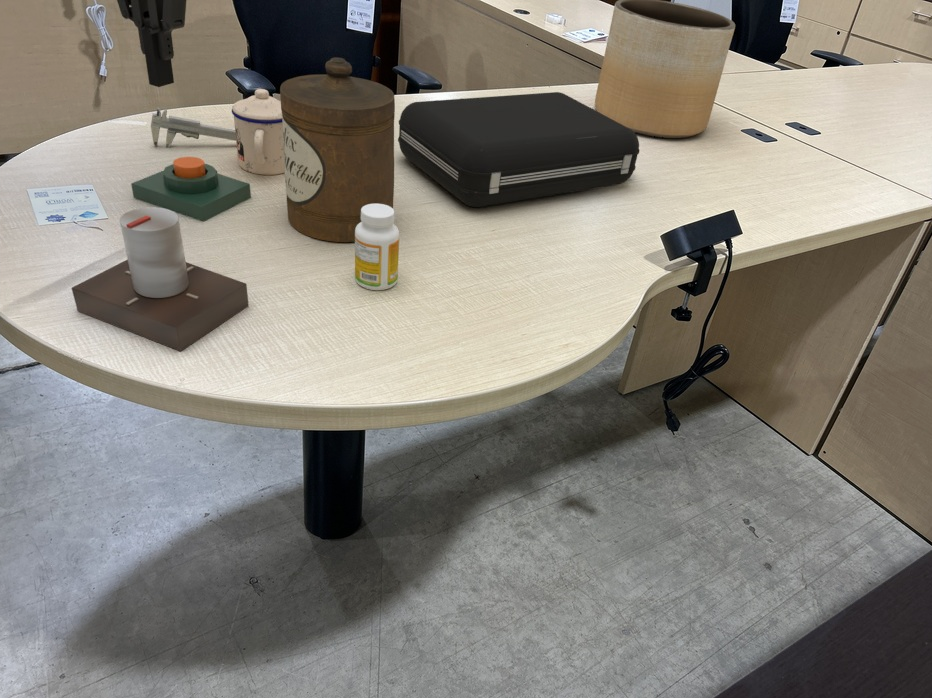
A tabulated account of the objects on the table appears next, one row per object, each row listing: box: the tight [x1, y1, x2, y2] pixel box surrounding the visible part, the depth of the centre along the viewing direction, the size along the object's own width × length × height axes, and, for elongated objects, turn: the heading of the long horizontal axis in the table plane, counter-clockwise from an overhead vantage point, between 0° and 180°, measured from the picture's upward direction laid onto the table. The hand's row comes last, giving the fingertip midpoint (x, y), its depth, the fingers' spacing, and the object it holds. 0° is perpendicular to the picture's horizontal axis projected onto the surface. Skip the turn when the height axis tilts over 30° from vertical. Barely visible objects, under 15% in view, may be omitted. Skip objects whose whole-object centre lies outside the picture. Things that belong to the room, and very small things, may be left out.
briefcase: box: [397, 91, 640, 208], centre depth 128 cm, size 36×32×10 cm
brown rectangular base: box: [71, 258, 249, 352], centre depth 82 cm, size 14×11×3 cm
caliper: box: [150, 106, 236, 149], centre depth 119 cm, size 20×1×6 cm, turn 111°
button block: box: [130, 163, 252, 222], centre depth 104 cm, size 12×10×4 cm
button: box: [172, 156, 206, 178], centre depth 103 cm, size 4×4×2 cm
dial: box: [119, 206, 189, 298], centre depth 79 cm, size 6×6×8 cm
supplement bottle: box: [354, 204, 400, 291], centre depth 91 cm, size 5×5×10 cm
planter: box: [594, 0, 736, 139], centre depth 157 cm, size 25×25×22 cm
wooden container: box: [279, 56, 396, 243], centre depth 99 cm, size 15×15×22 cm
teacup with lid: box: [231, 88, 285, 176], centre depth 113 cm, size 12×9×12 cm
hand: (161, 83), depth 95 cm, fingers closed
